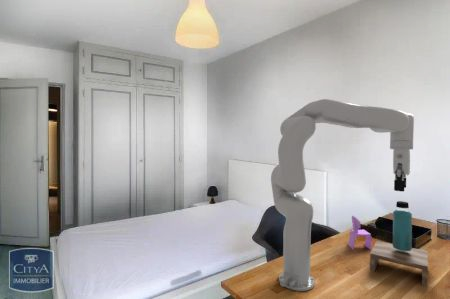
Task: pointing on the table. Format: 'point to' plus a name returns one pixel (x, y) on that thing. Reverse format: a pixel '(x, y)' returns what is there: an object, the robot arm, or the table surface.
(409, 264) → the walnut shelf
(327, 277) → the table surface
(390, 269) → the table surface
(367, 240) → the toy chair
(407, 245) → the beverage bottle
